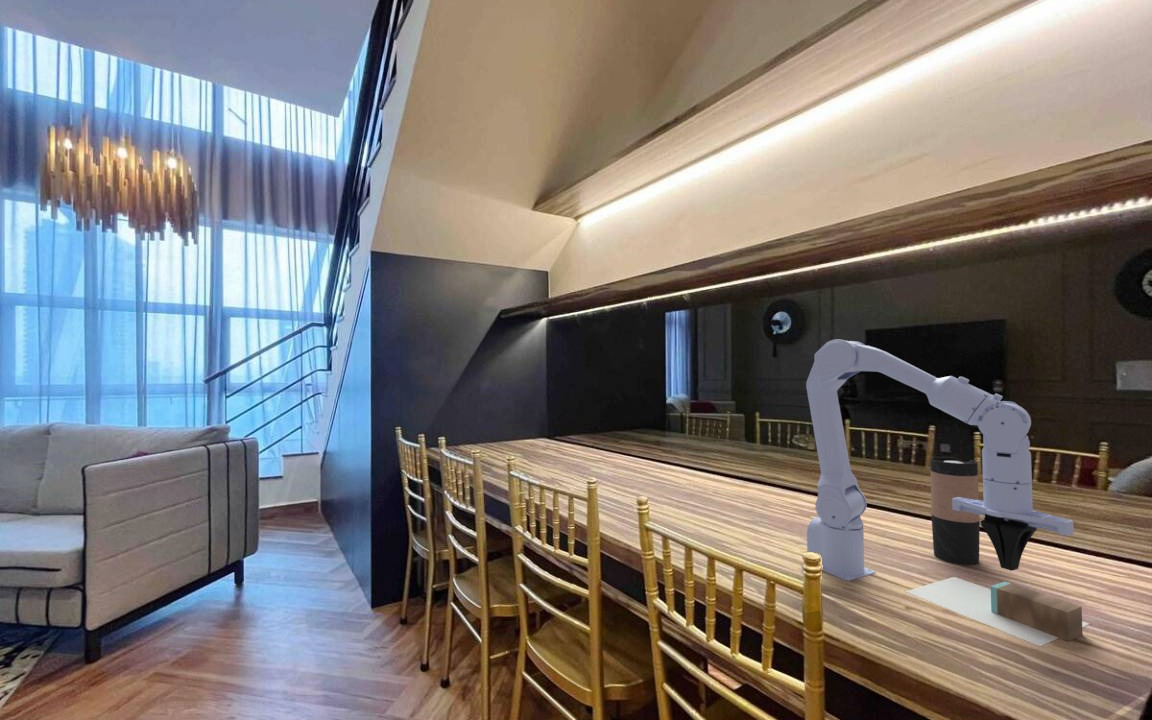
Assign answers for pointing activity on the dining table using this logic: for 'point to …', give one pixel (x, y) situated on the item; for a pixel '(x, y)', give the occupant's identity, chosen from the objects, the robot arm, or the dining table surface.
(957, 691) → the dining table surface
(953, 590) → the grey mat
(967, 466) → the travel mug
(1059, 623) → the walnut block
